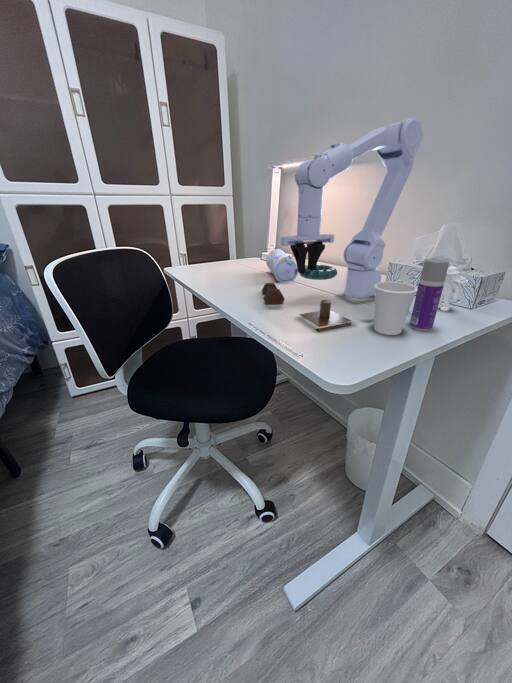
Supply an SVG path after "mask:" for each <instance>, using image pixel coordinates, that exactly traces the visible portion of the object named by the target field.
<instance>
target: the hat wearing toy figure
mask: <svg viewBox="0 0 512 683" xmlns="http://www.w3.org/2000/svg"><path fill="white" fill-rule="evenodd" d="M467 266H468V264H466V263H465V264H461V265H460V264H457V266H454V265H451V266H448V270H447V274H446V278H445V282H444V286H443V290H442V294H441V298H440V301H439V305H438V309H439V310H440V311H443V312H448V311H450V308H451V306H450V305H451V304H450V301H451V300H452V301H458V300H459V298H460V293H461V286H460V285H462V287H463V288H464V287H466V286H467V284H468V282H469V280H468V279H467V276H464V275H460V271H461V270H462V269H465V268H467Z"/></svg>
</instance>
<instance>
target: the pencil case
mask: <svg viewBox="0 0 512 683" xmlns="http://www.w3.org/2000/svg"><path fill="white" fill-rule="evenodd" d="M265 263H266V266H267V268H268V269H269V271H270V272H271V273H272V275H273V276H274V277H275V279H276V280H277V281H278V282H280V283H288V282H294V281H295V279H296V278H297V277H298V274H299V273H298V269H297V264H296V260H295V258H293V257H292V256H290V255H286V253H285V251H284V250H282V248H276V249H273V250H270V251H269V253H268V254H267V256H266V259H265Z"/></svg>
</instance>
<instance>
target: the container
mask: <svg viewBox="0 0 512 683" xmlns="http://www.w3.org/2000/svg"><path fill="white" fill-rule="evenodd" d="M449 265H450V261H449V260H448V259H444V258H443V259H442V258H425V259H424V262H423V266H422V270H421V274H420V276H419V280H418V284H417V289H418V291H417V292H416V293H415V297H414V303H413V307H412V311H411V315H410V320H409V324H408V326H409V328H410V329H412V330H416V331H419V332H431V331H432V330H433V327H434V324H435V320H436V316H437V312H438V309H439V308H438V305H439V301H440V298H441V294H442V290H443V286H444V282H445V278H446V274H447V270H448V268H449Z"/></svg>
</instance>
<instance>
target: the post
mask: <svg viewBox="0 0 512 683" xmlns="http://www.w3.org/2000/svg"><path fill="white" fill-rule="evenodd" d="M331 307H332V301H331V300H329V299H322V300H320V306H319V310H316V311H310V312H305V313H299V314H298V315H299V316H301V317H302V318H303V319H305V320H307V321H308V322H310V323H312V324H313V325H315V326H316V327H318V328H314V329H315V331H317V332H318V333H320V332H325V331H331V330H335V329H339V328H344V327H350V326H352V320H351V319H349V318H348V317H345V316H343V315H342V314H339V313H337V312H336V311H333V310H331Z"/></svg>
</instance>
